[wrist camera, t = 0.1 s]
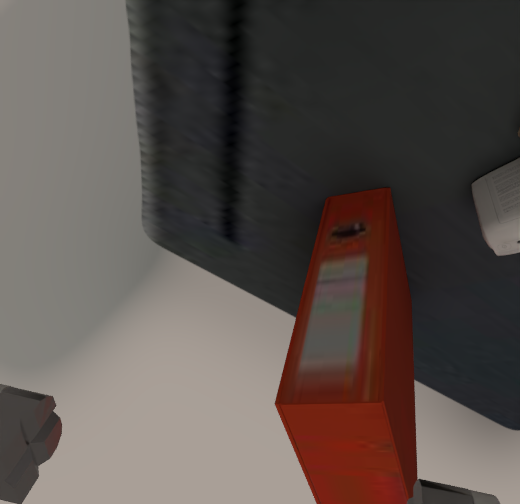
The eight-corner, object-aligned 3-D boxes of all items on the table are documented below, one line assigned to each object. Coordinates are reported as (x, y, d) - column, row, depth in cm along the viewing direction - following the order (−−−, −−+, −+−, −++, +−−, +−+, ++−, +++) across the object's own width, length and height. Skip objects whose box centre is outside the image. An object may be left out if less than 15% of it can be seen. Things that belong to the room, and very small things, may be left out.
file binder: (352, 304, 69) (328, 534, 44) (323, 197, 61) (274, 405, 35) (411, 298, 67) (423, 541, 41) (390, 186, 58) (388, 402, 33)
